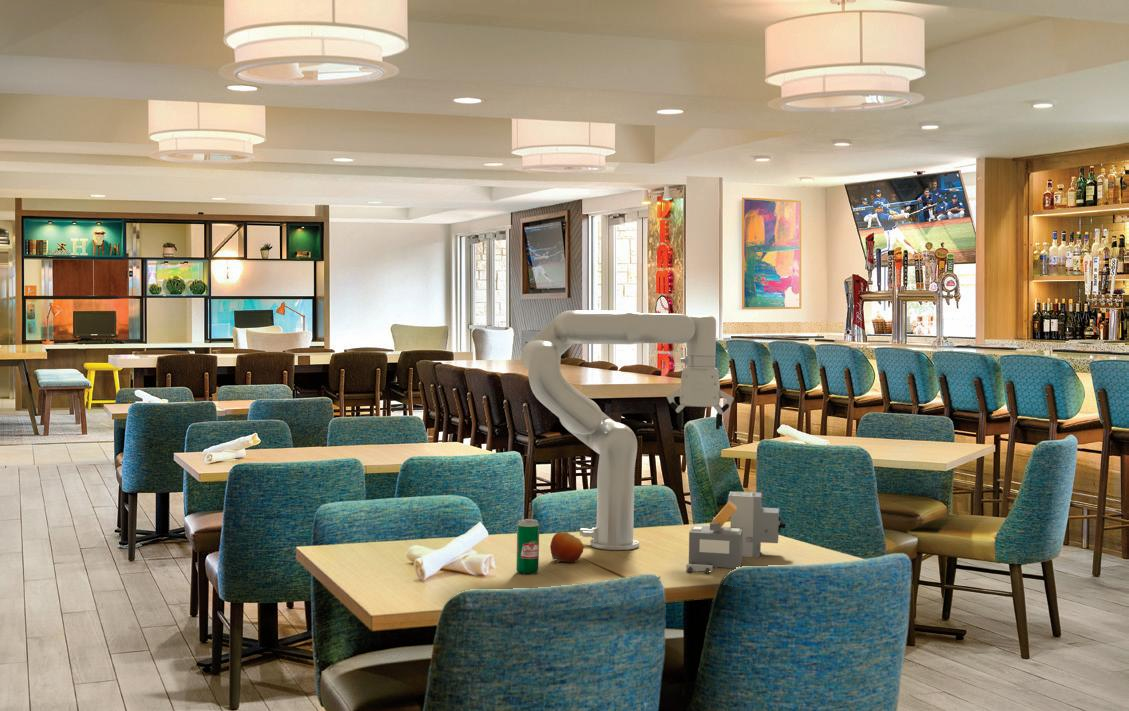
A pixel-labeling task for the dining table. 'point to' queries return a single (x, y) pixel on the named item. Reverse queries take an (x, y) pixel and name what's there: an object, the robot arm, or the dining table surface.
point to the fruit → (566, 547)
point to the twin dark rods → (698, 567)
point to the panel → (716, 545)
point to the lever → (725, 513)
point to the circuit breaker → (754, 522)
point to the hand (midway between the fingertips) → (699, 428)
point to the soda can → (527, 546)
